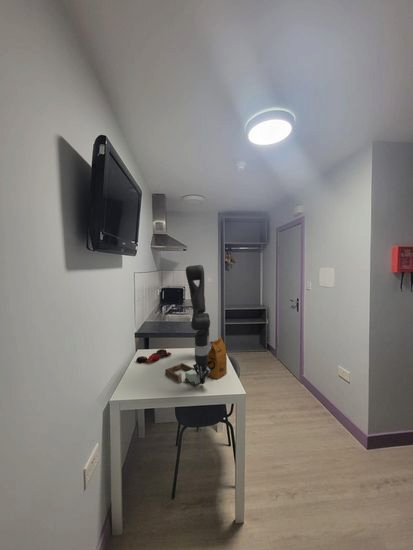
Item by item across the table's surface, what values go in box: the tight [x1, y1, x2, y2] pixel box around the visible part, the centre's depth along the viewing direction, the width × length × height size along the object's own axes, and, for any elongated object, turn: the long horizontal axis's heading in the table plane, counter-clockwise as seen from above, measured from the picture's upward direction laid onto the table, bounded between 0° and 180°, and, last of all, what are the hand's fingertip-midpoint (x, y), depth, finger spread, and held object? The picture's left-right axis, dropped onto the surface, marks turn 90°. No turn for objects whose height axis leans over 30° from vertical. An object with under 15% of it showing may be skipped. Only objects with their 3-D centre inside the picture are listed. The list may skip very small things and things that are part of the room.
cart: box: [184, 370, 200, 387], centre depth 135 cm, size 9×7×5 cm
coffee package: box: [207, 336, 228, 380], centre depth 144 cm, size 10×12×22 cm
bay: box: [164, 363, 195, 384], centre depth 144 cm, size 14×15×5 cm
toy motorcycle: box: [135, 348, 172, 364], centre depth 171 cm, size 25×5×16 cm
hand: (202, 383), depth 130 cm, fingers closed
